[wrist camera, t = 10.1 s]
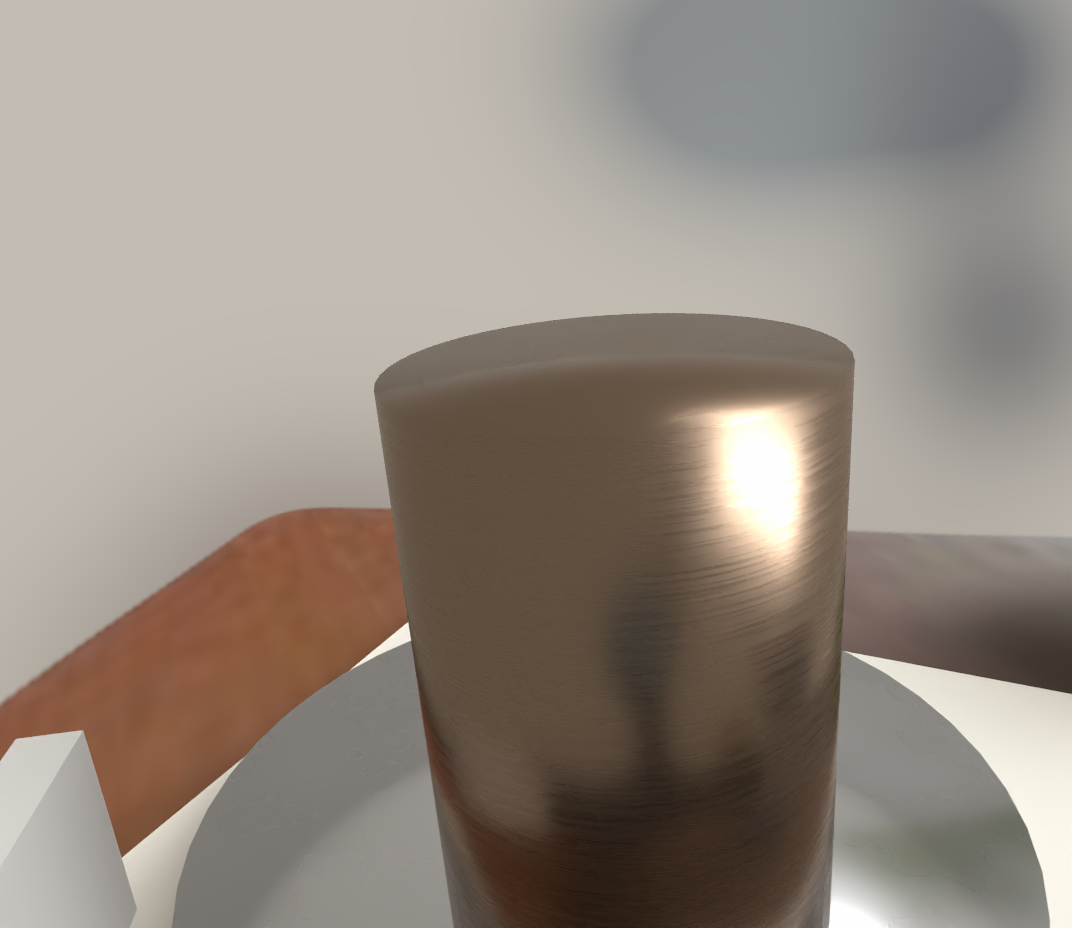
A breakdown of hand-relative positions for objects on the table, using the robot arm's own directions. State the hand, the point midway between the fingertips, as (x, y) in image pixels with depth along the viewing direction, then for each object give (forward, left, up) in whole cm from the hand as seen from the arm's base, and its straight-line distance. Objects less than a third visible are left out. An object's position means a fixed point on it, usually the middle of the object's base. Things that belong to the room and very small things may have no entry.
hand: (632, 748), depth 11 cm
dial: (+3, -5, -7) cm, 9 cm away
